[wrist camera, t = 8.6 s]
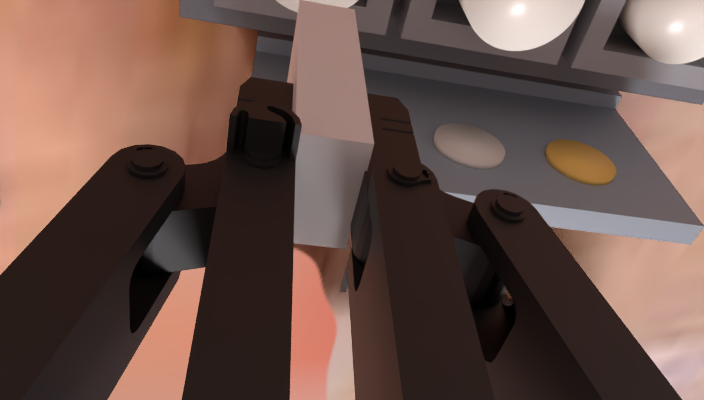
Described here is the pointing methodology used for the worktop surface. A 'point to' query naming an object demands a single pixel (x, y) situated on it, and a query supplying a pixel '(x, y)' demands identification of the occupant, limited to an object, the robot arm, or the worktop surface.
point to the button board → (469, 49)
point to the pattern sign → (522, 141)
